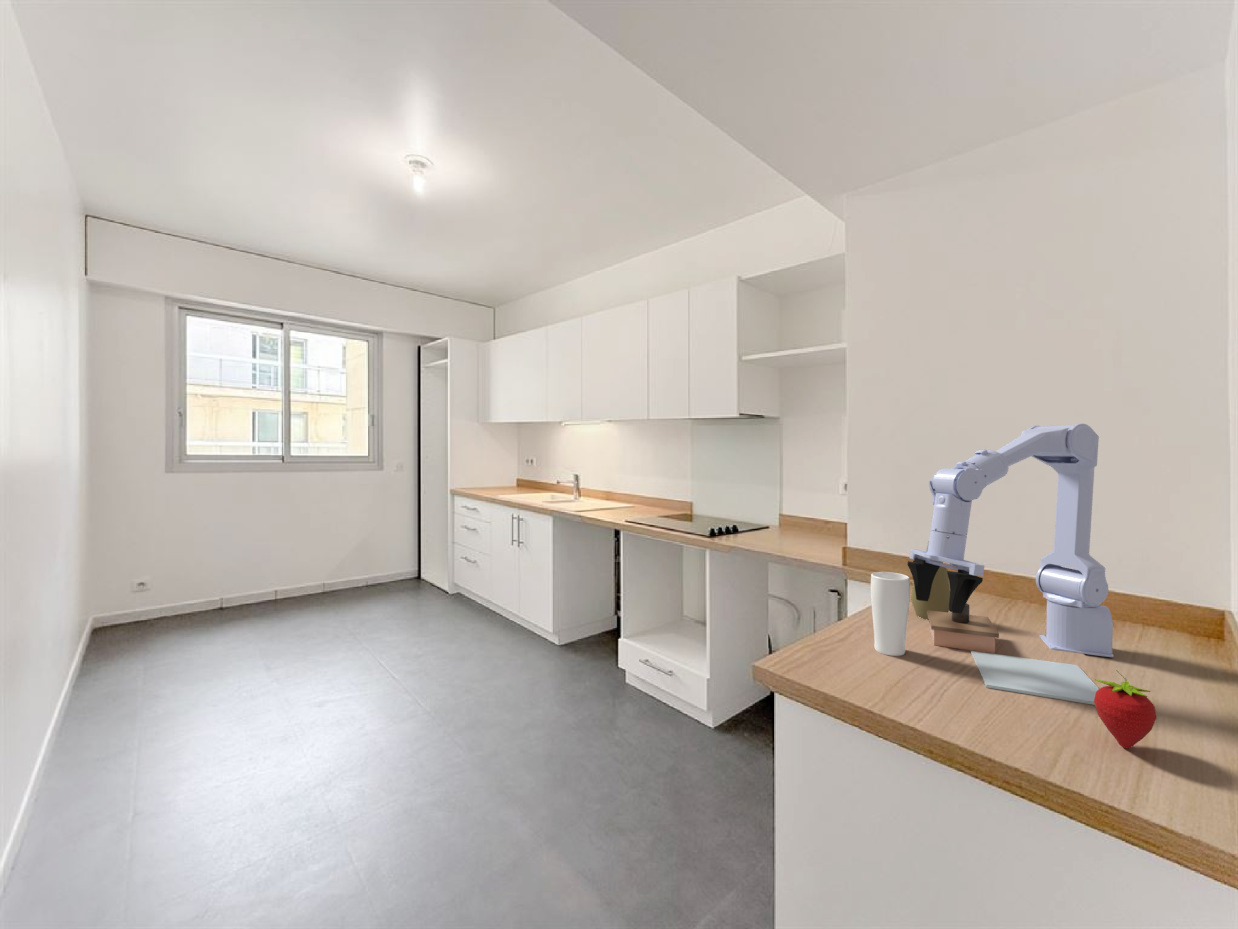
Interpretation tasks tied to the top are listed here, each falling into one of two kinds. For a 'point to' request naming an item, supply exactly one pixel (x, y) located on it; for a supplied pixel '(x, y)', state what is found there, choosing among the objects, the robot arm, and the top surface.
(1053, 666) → the mat
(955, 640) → the shallow cardboard tray
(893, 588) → the white cup
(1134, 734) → the strawberry
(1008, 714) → the top surface
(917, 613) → the squeeze bottle
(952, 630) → the lid
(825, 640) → the top surface
